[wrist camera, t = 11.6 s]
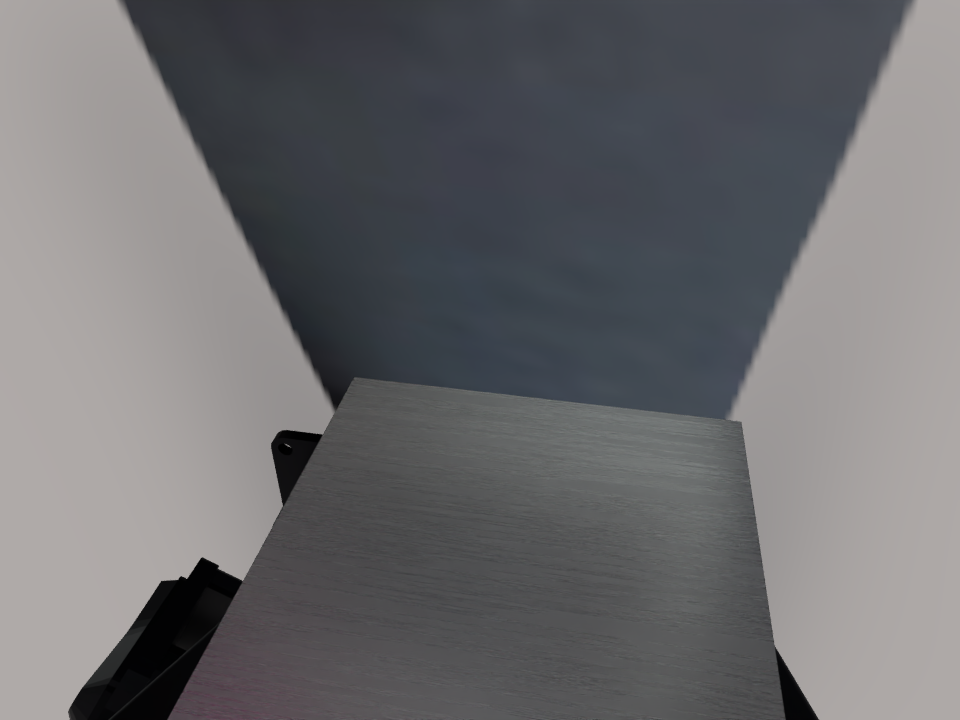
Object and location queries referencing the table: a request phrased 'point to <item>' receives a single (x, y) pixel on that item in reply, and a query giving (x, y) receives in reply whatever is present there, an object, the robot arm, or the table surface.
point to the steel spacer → (502, 571)
